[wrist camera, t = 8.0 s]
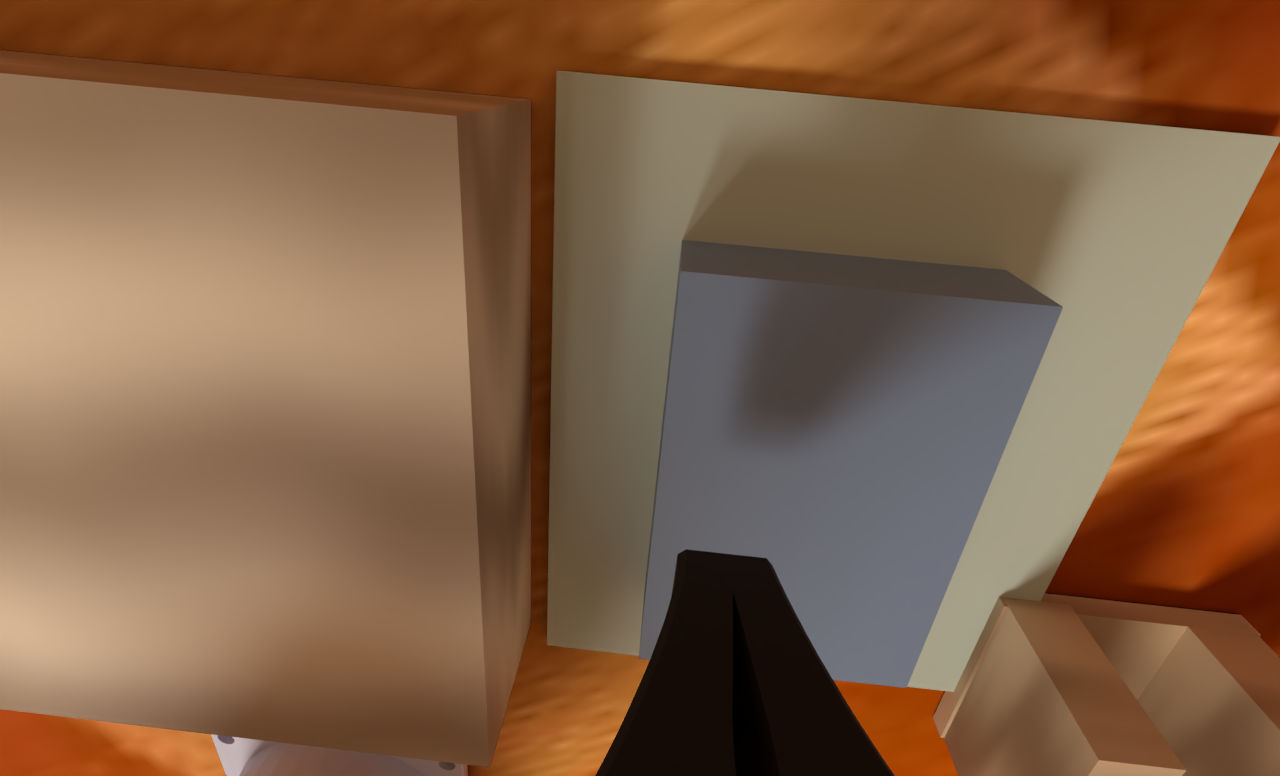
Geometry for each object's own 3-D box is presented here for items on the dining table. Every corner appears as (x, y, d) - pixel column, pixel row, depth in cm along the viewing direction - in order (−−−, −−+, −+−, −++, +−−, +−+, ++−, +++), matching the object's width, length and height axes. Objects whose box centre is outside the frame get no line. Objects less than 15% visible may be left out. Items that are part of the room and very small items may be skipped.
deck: (530, 621, 17) (489, 767, 14) (-37, 557, 17) (-221, 682, 14) (531, 99, 11) (456, 115, 8) (-335, 18, 11) (-796, -2, 8)
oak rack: (1147, 742, 18) (1274, 929, 14) (932, 717, 18) (999, 895, 14) (1241, 614, 15) (1424, 798, 11) (993, 587, 15) (1093, 759, 12)
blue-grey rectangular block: (638, 658, 14) (644, 592, 16) (906, 687, 14) (882, 617, 16) (680, 270, 10) (682, 240, 12) (1063, 306, 10) (1005, 269, 12)
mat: (986, 686, 17) (991, 695, 17) (549, 636, 17) (546, 645, 17) (1267, 135, 11) (1281, 137, 10) (559, 70, 11) (556, 70, 11)
